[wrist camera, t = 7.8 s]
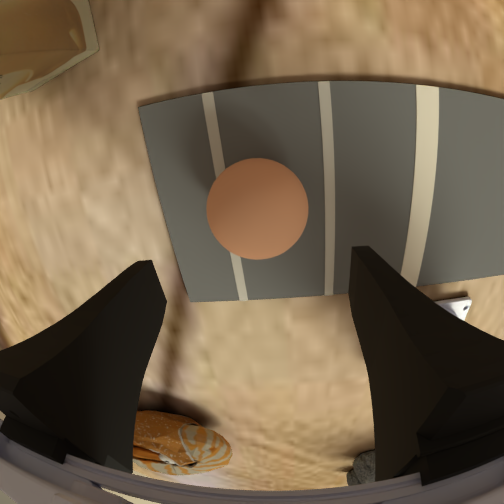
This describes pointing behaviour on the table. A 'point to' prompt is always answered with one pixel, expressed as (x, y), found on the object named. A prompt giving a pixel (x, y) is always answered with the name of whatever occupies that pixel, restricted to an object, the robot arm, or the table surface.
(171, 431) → the nautilus
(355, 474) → the koala plush
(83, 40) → the skincare box
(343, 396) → the table surface
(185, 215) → the lane mat
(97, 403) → the robot arm
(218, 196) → the ball
